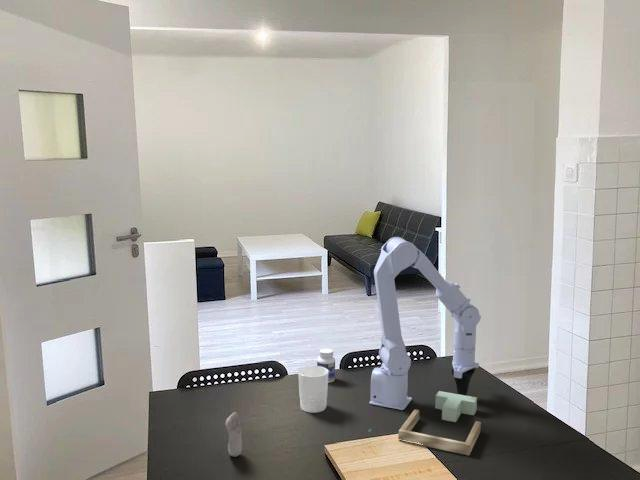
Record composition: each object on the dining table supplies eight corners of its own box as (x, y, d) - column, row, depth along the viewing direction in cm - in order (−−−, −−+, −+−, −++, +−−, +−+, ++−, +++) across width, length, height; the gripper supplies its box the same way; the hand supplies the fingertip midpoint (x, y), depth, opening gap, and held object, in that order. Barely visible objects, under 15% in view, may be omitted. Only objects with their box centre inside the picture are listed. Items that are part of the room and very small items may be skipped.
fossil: (227, 448, 139) (226, 406, 138) (242, 448, 139) (242, 406, 138) (225, 461, 133) (224, 418, 132) (241, 461, 134) (241, 417, 132)
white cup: (325, 415, 157) (325, 377, 155) (295, 412, 158) (294, 375, 157) (330, 402, 164) (331, 366, 163) (302, 400, 166) (302, 364, 164)
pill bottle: (330, 384, 177) (330, 354, 176) (314, 381, 179) (314, 352, 178) (337, 378, 182) (338, 349, 180) (321, 375, 184) (321, 346, 182)
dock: (398, 440, 143) (398, 430, 143) (414, 418, 155) (414, 409, 155) (469, 455, 136) (469, 445, 136) (480, 431, 148) (480, 421, 148)
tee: (429, 417, 156) (429, 404, 155) (438, 403, 164) (439, 390, 164) (468, 424, 151) (469, 411, 151) (476, 410, 160) (477, 397, 159)
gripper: (474, 356, 157) (471, 407, 159) (484, 340, 170) (482, 387, 172) (446, 352, 160) (444, 402, 162) (458, 337, 173) (457, 383, 175)
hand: (462, 394), depth 167 cm, fingers closed
